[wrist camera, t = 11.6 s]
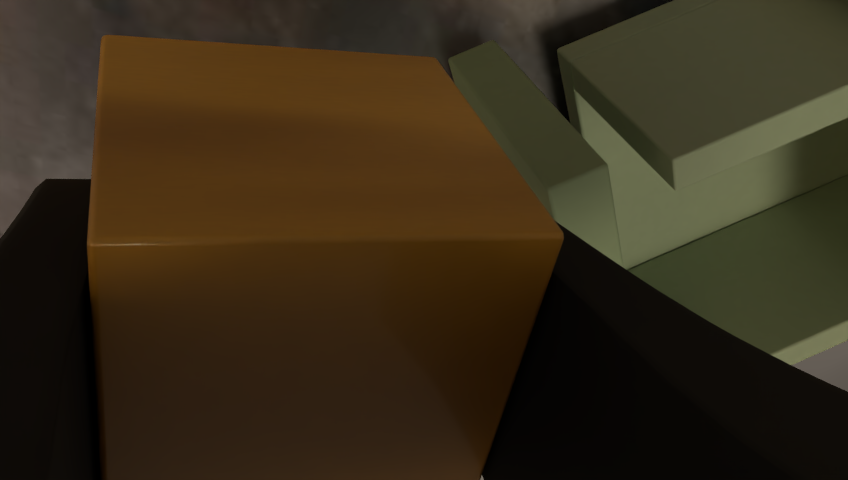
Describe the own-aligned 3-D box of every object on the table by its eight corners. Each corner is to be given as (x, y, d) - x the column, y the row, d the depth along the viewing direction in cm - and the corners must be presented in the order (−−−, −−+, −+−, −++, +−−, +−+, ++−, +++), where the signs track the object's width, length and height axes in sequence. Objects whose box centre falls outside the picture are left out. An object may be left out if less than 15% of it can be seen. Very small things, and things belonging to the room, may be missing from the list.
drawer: (383, 381, 24) (440, 547, 20) (258, 135, 18) (300, 294, 14) (856, 176, 25) (1013, 291, 21) (888, -126, 19) (1120, -54, 15)
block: (386, 296, 12) (470, 512, 9) (111, 307, 11) (104, 563, 8) (437, 55, 10) (569, 234, 7) (100, 32, 9) (85, 241, 6)
